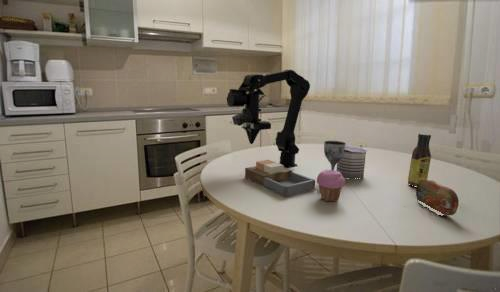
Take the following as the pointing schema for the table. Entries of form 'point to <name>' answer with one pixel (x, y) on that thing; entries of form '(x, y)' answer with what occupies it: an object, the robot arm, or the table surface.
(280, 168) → the tile front
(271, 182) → the tray
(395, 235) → the table surface
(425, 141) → the sauce bottle
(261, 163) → the tile back
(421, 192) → the reddish-brown rounded block
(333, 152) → the wine glass
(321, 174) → the cupcake
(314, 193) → the table surface
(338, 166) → the can
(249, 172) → the brown flat block
